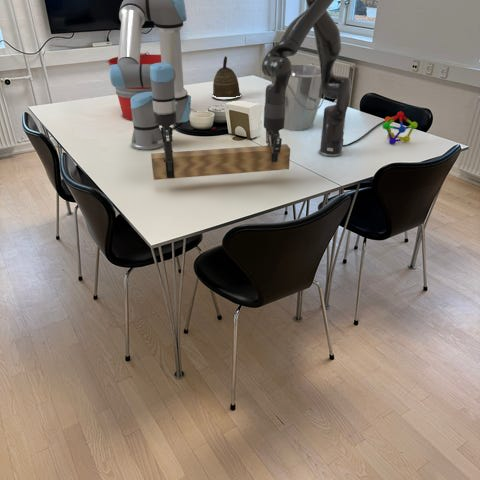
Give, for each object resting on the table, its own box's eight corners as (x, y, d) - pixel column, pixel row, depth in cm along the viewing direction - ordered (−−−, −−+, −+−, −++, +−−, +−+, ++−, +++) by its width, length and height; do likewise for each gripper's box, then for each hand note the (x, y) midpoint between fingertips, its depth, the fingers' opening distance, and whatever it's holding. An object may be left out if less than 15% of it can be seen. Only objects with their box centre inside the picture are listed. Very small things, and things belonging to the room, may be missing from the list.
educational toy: (377, 146, 209) (379, 114, 202) (384, 138, 219) (386, 107, 211) (411, 149, 202) (415, 116, 195) (417, 141, 212) (420, 109, 204)
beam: (153, 180, 161) (151, 158, 157) (153, 174, 165) (151, 153, 161) (289, 169, 170) (290, 148, 165) (285, 164, 174) (286, 144, 169)
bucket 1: (122, 105, 263) (114, 51, 248) (180, 106, 263) (177, 52, 247) (105, 123, 234) (95, 63, 218) (171, 124, 233) (166, 64, 217)
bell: (227, 105, 294) (202, 96, 282) (238, 66, 289) (213, 55, 277) (243, 108, 280) (217, 98, 268) (255, 66, 275) (229, 55, 263)
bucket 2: (296, 138, 215) (301, 78, 201) (255, 124, 234) (256, 68, 219) (335, 125, 232) (342, 70, 217) (294, 113, 251) (297, 61, 236)
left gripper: (178, 119, 144) (182, 184, 157) (174, 103, 159) (178, 164, 172) (154, 120, 143) (161, 185, 156) (153, 104, 158) (159, 165, 171)
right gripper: (290, 120, 154) (287, 165, 163) (279, 108, 166) (277, 151, 175) (269, 121, 153) (267, 167, 162) (259, 109, 165) (258, 152, 174)
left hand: (170, 174), depth 164 cm, fingers closed on beam, 5 cm apart
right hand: (272, 158), depth 169 cm, fingers closed on beam, 5 cm apart
